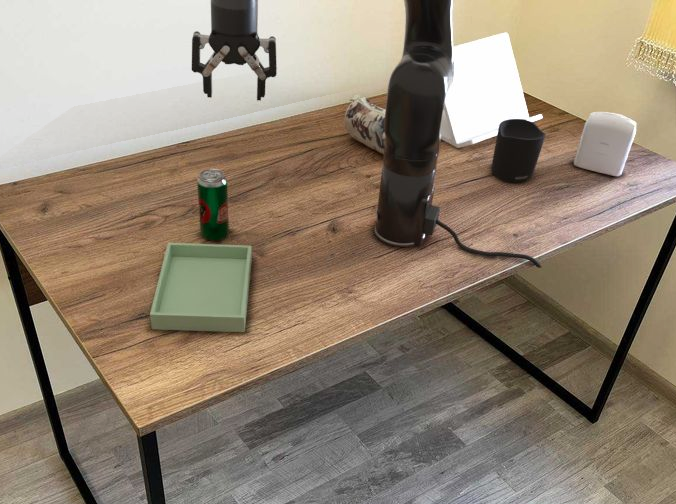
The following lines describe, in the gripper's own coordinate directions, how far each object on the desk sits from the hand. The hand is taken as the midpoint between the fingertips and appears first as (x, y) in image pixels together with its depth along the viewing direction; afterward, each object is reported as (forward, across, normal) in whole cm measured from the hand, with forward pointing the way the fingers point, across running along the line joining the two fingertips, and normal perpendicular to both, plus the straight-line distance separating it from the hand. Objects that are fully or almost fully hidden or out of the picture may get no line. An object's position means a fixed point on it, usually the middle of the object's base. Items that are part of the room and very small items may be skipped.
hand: (234, 97), depth 129 cm
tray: (+20, -4, -29) cm, 36 cm away
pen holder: (+19, +57, +13) cm, 62 cm away
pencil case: (+20, +32, +21) cm, 43 cm away
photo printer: (+19, +77, +16) cm, 81 cm away
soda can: (+21, -3, -12) cm, 24 cm away
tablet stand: (+20, +55, +36) cm, 68 cm away
